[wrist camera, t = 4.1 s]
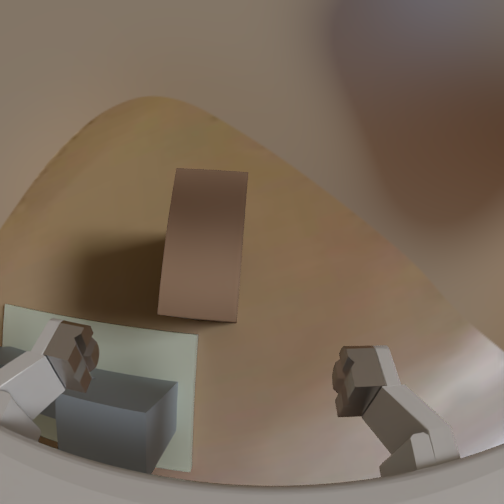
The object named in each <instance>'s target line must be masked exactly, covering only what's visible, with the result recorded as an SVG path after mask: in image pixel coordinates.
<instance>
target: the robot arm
mask: <svg viewBox="0 0 504 504" xmlns="http://www.w3.org/2000/svg"><path fill="white" fill-rule="evenodd" d="M92 335H93V331H92V328H91V326H89V325H84V324H79V323H75V322H70V321H65V320H60V319H55V318H52V319H50V320H49V321H48V322H47V324H46V326H45V327H44V329H43V331H42V332H41V334H40V336H39V338H38V339H37V341H36V343H35V344H34V346H33V348H32V350H31V352H30V351H26V352H25V353H23V354H22V355H20V356H19V357H17V358H15V359H14V360H12V361H11V362H9V363H8V364H6V365H5V366H3V367H2V368H0V504H504V444H501V445H499V446H496V447H493V448H491V449H488V450H485V451H482V452H479V453H476V454H473V455H470V456H467V457H464V458H460V455H459V451H458V448H457V445H456V441H455V438H454V435H453V432H452V429H451V426H450V425H449V424H448V423H447V422H446V421H445V420H444V419H442V418H441V417H440V416H439V415H438V414H437V413H436V412H435V411H434V410H433V409H431V408H430V407H429V406H428V405H427V404H426V403H425V402H424V401H423V400H421V399H420V398H419V397H418V396H417V395H416V394H415V393H414V392H413V391H412V390H410V389H409V388H408V387H407V386H406V385H401V383H400V380H399V377H398V374H397V371H396V368H395V365H394V362H393V359H392V356H391V353H390V350H389V348H388V347H387V346H343V347H342V348H341V350H340V353H339V356H340V360H338V361H337V362H335V365H334V368H333V374H332V383H333V389H334V390H335V391H336V392H337V393H338V396H337V398H336V400H335V403H336V409H337V415H338V417H355V416H362V418H363V420H364V421H365V422H366V423H367V425H368V426H369V427H370V428H371V430H372V431H373V432H374V433H375V435H376V436H377V437H378V438H379V440H380V441H381V442H382V443H383V444H384V446H385V447H386V448H387V449H388V451H389V452H390V453H391V454H392V455H391V456H390V457H389V458H388V459H386V460H385V461H384V462H383V463H382V464H381V465H380V473H381V477H379V478H373V479H366V480H359V481H351V482H342V483H331V484H317V485H297V486H253V485H232V484H219V483H208V482H198V481H190V480H183V479H176V478H169V477H163V476H158V475H152V474H147V473H142V472H137V471H132V470H128V469H124V468H119V467H115V466H111V465H108V464H104V463H100V462H96V461H93V460H90V459H86V458H83V457H80V456H76V455H73V454H70V453H67V452H64V451H61V450H59V449H56V448H53V447H50V446H48V445H45V444H42V443H40V442H38V440H39V438H40V435H41V431H40V428H39V427H38V426H37V425H36V424H35V423H34V422H33V421H32V420H33V419H34V418H35V417H36V416H37V415H38V414H40V413H41V412H42V411H43V410H44V409H45V408H46V407H47V406H48V405H49V404H50V403H52V402H53V401H54V400H55V399H56V398H57V397H58V396H59V395H60V394H61V393H63V392H64V391H65V389H69V390H74V391H78V392H82V393H86V392H87V389H88V387H89V384H90V382H91V379H92V377H91V374H90V372H91V371H92V370H94V369H95V368H96V366H97V364H98V361H99V346H98V344H97V342H96V341H95V340H94V339H93V338H92Z"/></svg>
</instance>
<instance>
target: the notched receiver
mask: <svg viewBox="0 0 504 504" xmlns="http://www.w3.org/2000/svg"><path fill="white" fill-rule="evenodd" d="M52 318H55V319H60V320H65V321H70V322H75V323H79V324H84V325H89V326H91V328H92V331H93V335H92V338H93V339H94V340H95V341H96V342H97V344H98V346H99V361H98V364H97V366H96V368H95V369H94V370H92V371H91V372H90V374H91V377H92V379H91V382H90V384H89V387H88V389H87V392H86V393H82V392H78V391H74V390H69V389H65V391H64V392H63V393H61V394H60V395H59V396H58V397H57V398H56V399H55V400H54V401H53V402H52V403H50V404H49V405H48V406H47V407H46V408H45V409H44V410H43V411H42V412H41V413H40V414H38V415H37V416H36V417H35V418H34V419H33V420H32V421H33V422H34V423H35V424H36V425H37V426H38V427H39V428H40V431H41V435H40V436H42V437H45V438H47V439H50V440H53V441H56V442H58V449H59V450H61V451H64V452H67V453H70V454H73V455H76V456H80V457H83V458H86V459H90V460H93V461H96V462H100V463H104V464H108V465H111V466H115V467H119V468H124V469H128V470H132V471H137V472H142V473H147V474H151V473H152V472H153V470H154V468H155V467H157V468H163V469H170V470H176V471H184V472H190V471H191V468H192V441H193V415H194V394H195V376H196V359H197V344H198V334H189V333H179V332H170V331H162V330H154V329H146V328H138V327H131V326H124V325H117V324H110V323H104V322H98V321H91V320H85V319H80V318H74V317H68V316H63V315H58V314H53V313H48V312H43V311H38V310H33V309H28V308H24V307H19V306H15V305H9V304H5V310H4V323H3V344H2V347H0V368H2V367H3V366H5V365H6V364H8V363H9V362H11V361H12V360H14V359H15V358H17V357H19V356H20V355H22V354H23V353H25V352H26V351H30V352H31V350H32V348H33V346H34V344H35V343H36V341H37V339H38V338H39V336H40V334H41V332H42V331H43V329H44V327H45V326H46V324H47V322H48V321H49V320H50V319H52Z"/></svg>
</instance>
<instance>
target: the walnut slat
mask: <svg viewBox="0 0 504 504" xmlns="http://www.w3.org/2000/svg"><path fill="white" fill-rule="evenodd" d="M247 181H248V172H236V171H221V170H204V169H184V168H177V169H176V175H175V180H174V186H173V192H172V199H171V205H170V212H169V219H168V225H167V233H166V240H165V248H164V256H163V264H162V273H161V282H160V292H159V302H158V313H157V314H158V315H165V316H172V317H180V318H187V319H196V320H207V321H219V322H231V323H236V322H237V313H238V299H239V285H240V271H241V258H242V245H243V232H244V219H245V206H246V193H247Z"/></svg>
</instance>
